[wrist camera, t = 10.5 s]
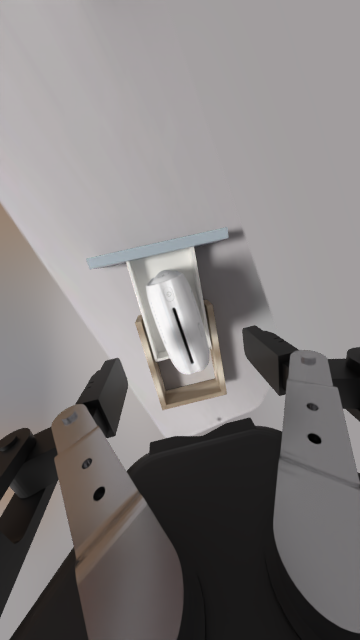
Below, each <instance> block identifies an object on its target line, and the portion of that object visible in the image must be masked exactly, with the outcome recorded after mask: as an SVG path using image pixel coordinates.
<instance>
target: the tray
mask: <svg viewBox="0 0 360 640" xmlns="http://www.w3.org/2000/svg"><path fill="white" fill-rule="evenodd" d="M227 238H228V229H227V227H225V228H221V229H216V230H212V231H207V232H203V233H199V234H194V235H190V236H185V237H181V238H176V239H172V240H167V241H163V242H158V243H154V244H150V245H145V246H141V247H136V248H132V249H127V250H123V251H118V252H114V253H109V254H105V255H100V256H96V257H92V258H87V259H86V260H87V263H88V265H89V268H90V269H97V268H103V267H108V266H112V265H117V264H121V263H126V264H127V268H128V271H129V274H130V278H131V281H132V284H133V288H134V291H135V295H136V298H137V301H138V305H139V308H140V311H141V315H142V318H143V321H144V325H145V328H146V331H147V335H148V338H149V342H150V345H151V348H152V352H153V355H154V358H155V362H157V361H162V360H166V359H170V357H169V355H168V353H167V350H166V348H165V346H164V343H163V341H162V338H161V336H160V333H159V331H158V328H157V325H156V323H155V320H154V317H153V314H152V311H151V308H150V305H149V301H148V297H147V291H146V285H147V284H148V283H149V281H150V280H151V279H152V278H155V276H156V275H157V274H158V273H159V272H161V271H163V270H171V271H176V270H177V271H178V272H181V273H183V274H184V276H185V278H186V279H187V281H188V283H189V285H190V288H191V290H192V292H193V295H194V297H195V300H196V303H197V306H198V309H199V312H200V316H201V319H202V322H203V326H204V330H205V333H206V337H207V342H208V346H209V349H212V346H211V341H210V335H209V329H208V324H207V318H206V312H205V307H204V301H203V295H202V290H201V284H200V278H199V273H198V267H197V261H196V256H195V250H194V247H196V246H201V245H205V244H210V243H214V242H218V241H221V240H224V239H227Z"/></svg>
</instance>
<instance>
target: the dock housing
mask: <svg viewBox="0 0 360 640" xmlns="http://www.w3.org/2000/svg"><path fill="white" fill-rule="evenodd" d="M203 301H204V307H205V312H206V318H207V324H208V329H209V335H210V341H211V346H212V349H210V350H211V356H212V361H213V367H214V372H215V378H216V379H212V380H208V381H204V382H200V383H195V384H191V385H187V386H183V387H179V388H175V389H171V390H167V391H166V390H165V387H164V383H163V380H162V376H161V373H160V370H159V366H158V363H157V362H155V358H154V355H153V352H152V348H151V345H150V342H149V338H148V335H147V331H146V328H145V325H144V321H143V318H142V315H139V316H138V317H137V320H136V322H135V324H136V327H137V330H138V333H139V337H140V340H141V343H142V346H143V349H144V353H145V356H146V359H147V362H148V365H149V368H150V372H151V375H152V378H153V381H154V384H155V388H156V391H157V394H158V397H159V400H160V404H161V407H162V410H165V409H169V408H173V407H177V406H181V405H185V404H189V403H193V402H197V401H201V400H205V399H210V398H214V397H218V396H222V395H226V394H227V392H226V386H225V379H224V373H223V367H222V361H221V354H220V348H219V342H218V336H217V329H216V323H215V317H214V311H213V305H212V304H211V303H210V302H209V301H208V300H203Z"/></svg>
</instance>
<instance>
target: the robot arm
mask: <svg viewBox="0 0 360 640" xmlns="http://www.w3.org/2000/svg"><path fill="white" fill-rule="evenodd" d="M242 333H243V343H244V351H245V355H246V357H247V359H248V360H249V361H250V362H251V364H252V365H253V366H254V367H255V368H256V369H257V371H258V372H259V373H260V374H261V375H262V376H263V378H264V379H265V380H266V381H267V382H268V383H269V385H270V386H271V387H272V388H273V389H274V390H275V391H276V393H277V394H278V395H279V396H281V395H285V394H286V398H285V408H284V421H283V431H282V432H281V431H279V430H276V429H273V428H269V427H263V426H255V425H254V423H253V422H252V420H251V418H246V419H243V420H238V421H234V422H230V423H226V424H224V425H222V426H220V427H219V428H217V429H215V430H213V431H211V432H210V433H208V434H206V435H204V436H174V437H170V438H166V439H162V440H158V441H154V442H151V443H150V451H149V453H148V454H146V455H144V456H143V457H141V458H140V459H139V460H138V461H137V462H135V463H134V464H133V465H132V466H131V467H130V468H129V469H128V470H127V472H126V470H125V469H124V467H123V465H122V464H121V462H120V460H119V459H118V457H117V455H116V454H115V452H114V450H113V449H112V447H111V445H110V444H109V442H108V441H107V439H106V438H109V437H113V436H115V435H116V431H117V427H118V424H119V420H120V415H121V412H122V408H123V404H124V400H125V396H126V393H127V389H128V381H127V377H126V375H125V372H124V369H123V367H122V364H121V362H120V360H119V358H115V359H111V360H107V361H105V362H104V364H103V366H102V368H101V370H99V371H97V372H96V373H95V374H94V375H93V376H92V377H91V379H90V380H89V382H88V384H87V386H86V387H85V389H84V391H83V392H82V394H81V396H80V397H79V399H78V401H77V402H76V404H75V405H73V406H71V407H69V408H67V409H65V410H64V411H62V412H61V413H60V414H59V415H58V416H57V417H56V418H55V419H54V421H53V422H52V425H51V427H50V428H48V429H45V430H43V431H41V432H39V433H37V434H35V435H33V434H32V432H31V431H30V429H28V428H22V429H19V430H16V431H14V432H12V433H10V434H9V435H7V436H5V437H4V438H3V439H1V440H0V500H1V499H2V497H3V495H4V494H5V492H6V491H7V489H8V487H9V486H10V487H11V489H12V490H13V491H14V492H15V493H14V495H13V497H12V499H11V500H10V502H9V504H8V505H7V507H6V509H5V510H4V512H3V514H2V516H1V517H0V617H1V614H2V612H3V610H4V607H5V605H6V603H7V600H8V598H9V595H10V593H11V590H12V588H13V586H14V584H15V581H16V579H17V576H18V574H19V572H20V569H21V567H22V564H23V562H24V560H25V557H26V555H27V553H28V550H29V548H30V545H31V543H32V541H33V538H34V536H35V533H36V531H37V529H38V526H39V524H40V521H41V519H42V517H43V515H44V512H45V510H46V507H47V505H48V503H49V500H50V498H51V495H52V493H53V491H54V488H55V486H56V484H57V481H58V480H59V483H60V487H61V492H62V496H63V500H64V505H65V510H66V514H67V519H68V523H69V527H70V532H71V536H72V541H73V545H74V547H73V549H72V550H71V552H70V553H69V555H68V556H67V558H66V559H65V560H64V562H63V563H62V565H61V566H60V568H59V569H58V570H57V572H56V573H55V575H54V576H53V578H52V579H51V580H50V582H49V583H48V585H47V586H46V588H45V589H44V591H43V592H42V593H41V595H40V596H39V598H38V600H37V601H36V602H35V604H34V605H33V607H32V608H31V610H30V611H29V612H28V614H27V615H26V617H25V618H24V620H23V621H22V622H21V624H20V625H19V627H18V628H17V630H16V631H15V632H14V634H13V636H12V637H11V638H10V640H360V473H358V472H357V469H356V464H355V460H354V456H353V452H352V447H351V443H350V438H349V434H348V430H347V426H346V421H345V417H344V413H343V409H346V410H347V411H349V412H350V413H351V414H352V415H353V416H354V417H355V418H356V419H358V420H359V421H360V347H357V348H352V349H349V350H348V351H347V357H346V359H327V358H326V357H325V356H324V355H322V354H321V353H318V352H315V351H310V350H298V349H297V348H295V347H294V346H292V345H291V344H289V343H288V342H286V341H284V340H283V339H281V338H280V337H279V336H277V335H276V334H274V333H271V332H268V331H263V330H261V329H260V328H258V327H257V326H251V327H246V328H243V330H242Z"/></svg>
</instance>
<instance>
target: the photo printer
mask: <svg viewBox="0 0 360 640" xmlns="http://www.w3.org/2000/svg"><path fill="white" fill-rule="evenodd" d="M146 291H147V297H148V301H149V305H150V308H151V311H152V314H153V317H154V320H155V323H156V325H157V328H158V331H159V333H160V336H161V338H162V341H163V343H164V346H165V348H166V350H167V353H168V355H169V357H170V359H171V361H172V363H173V364H174V366H175V367H176V368H177V370H178V371H179V372H181V373H183V374H192V373H194V372H198V371H202V370H203V369H205V367H206V366H207V365H208V363H209V346H208V342H207V337H206V333H205V330H204V326H203V322H202V319H201V316H200V312H199V309H198V306H197V303H196V300H195V297H194V295H193V292H192V290H191V288H190V285H189V283H188V281H187V279H186V278H185V276H184V274H183V273H181V272H178V271H177V270H176V271H171V270H163V271H161V272H159V273H158V274H157V275H156V276H155V278H152V279H151V280H150V281H149V283H148V284H147V285H146Z"/></svg>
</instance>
